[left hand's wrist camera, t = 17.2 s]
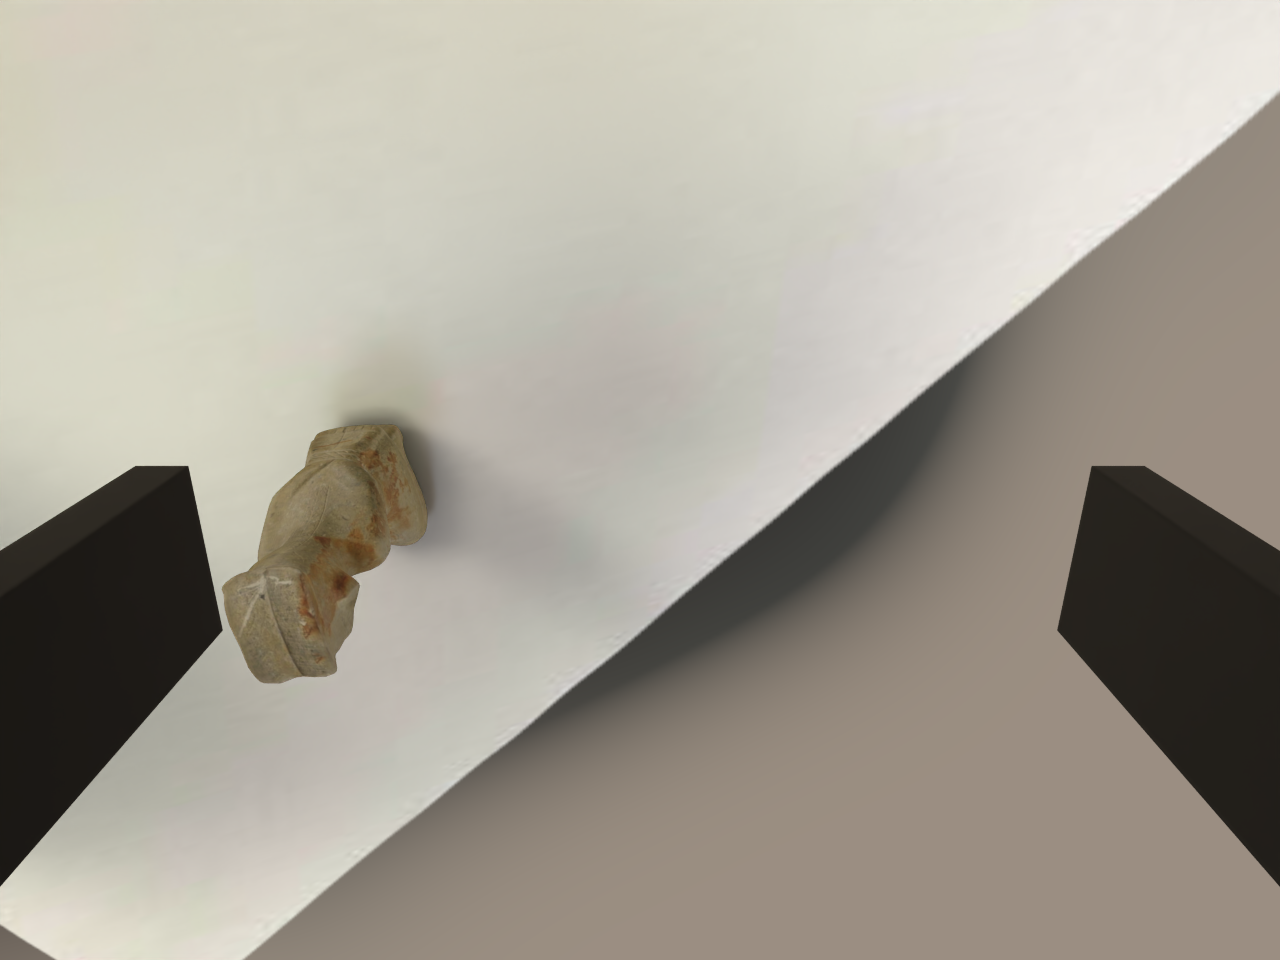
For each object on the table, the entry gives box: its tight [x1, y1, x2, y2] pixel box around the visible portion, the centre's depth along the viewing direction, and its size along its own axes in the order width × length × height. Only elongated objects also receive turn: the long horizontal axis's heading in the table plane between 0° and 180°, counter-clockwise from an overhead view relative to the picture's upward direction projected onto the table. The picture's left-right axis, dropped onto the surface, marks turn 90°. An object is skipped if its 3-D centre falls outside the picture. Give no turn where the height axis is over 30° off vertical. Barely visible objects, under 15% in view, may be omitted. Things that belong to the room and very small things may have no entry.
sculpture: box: [222, 425, 427, 683], centre depth 38 cm, size 6×7×15 cm
